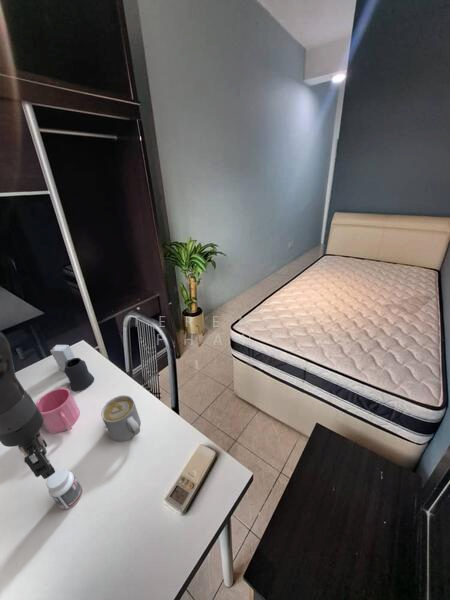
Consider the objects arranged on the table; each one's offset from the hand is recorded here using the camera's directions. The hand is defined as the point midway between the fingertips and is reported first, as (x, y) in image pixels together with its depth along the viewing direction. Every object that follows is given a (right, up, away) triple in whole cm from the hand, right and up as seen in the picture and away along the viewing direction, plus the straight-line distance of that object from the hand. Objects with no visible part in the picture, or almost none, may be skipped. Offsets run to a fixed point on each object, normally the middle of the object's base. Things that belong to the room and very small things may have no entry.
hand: (45, 460), depth 58 cm
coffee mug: (+10, -6, +24) cm, 27 cm away
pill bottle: (+1, -15, +8) cm, 17 cm away
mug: (-18, +4, +45) cm, 49 cm away
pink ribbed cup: (-14, -5, +29) cm, 32 cm away
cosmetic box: (-28, +7, +53) cm, 60 cm away
